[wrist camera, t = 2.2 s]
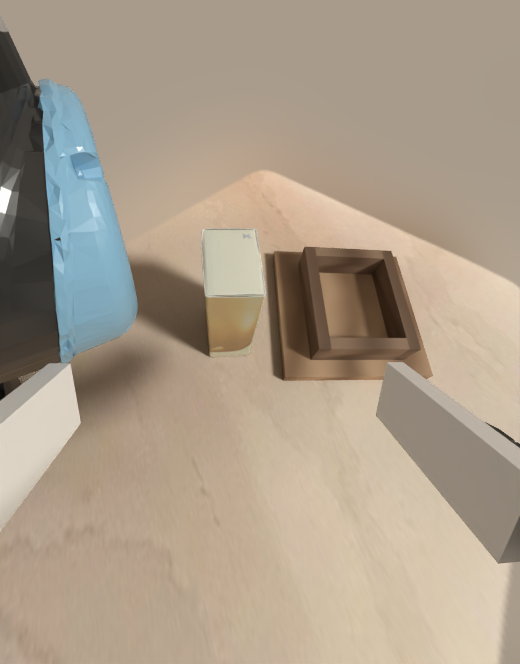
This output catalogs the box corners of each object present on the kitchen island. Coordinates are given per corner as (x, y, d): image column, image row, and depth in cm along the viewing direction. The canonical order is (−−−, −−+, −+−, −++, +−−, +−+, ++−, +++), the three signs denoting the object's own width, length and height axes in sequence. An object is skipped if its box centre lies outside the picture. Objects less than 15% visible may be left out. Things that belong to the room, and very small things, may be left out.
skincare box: (206, 307, 33) (199, 224, 22) (245, 305, 34) (257, 224, 23) (208, 360, 30) (202, 296, 19) (250, 358, 31) (267, 294, 20)
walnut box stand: (283, 380, 30) (292, 367, 27) (273, 257, 37) (278, 233, 34) (425, 379, 32) (452, 366, 29) (391, 262, 39) (409, 240, 36)
